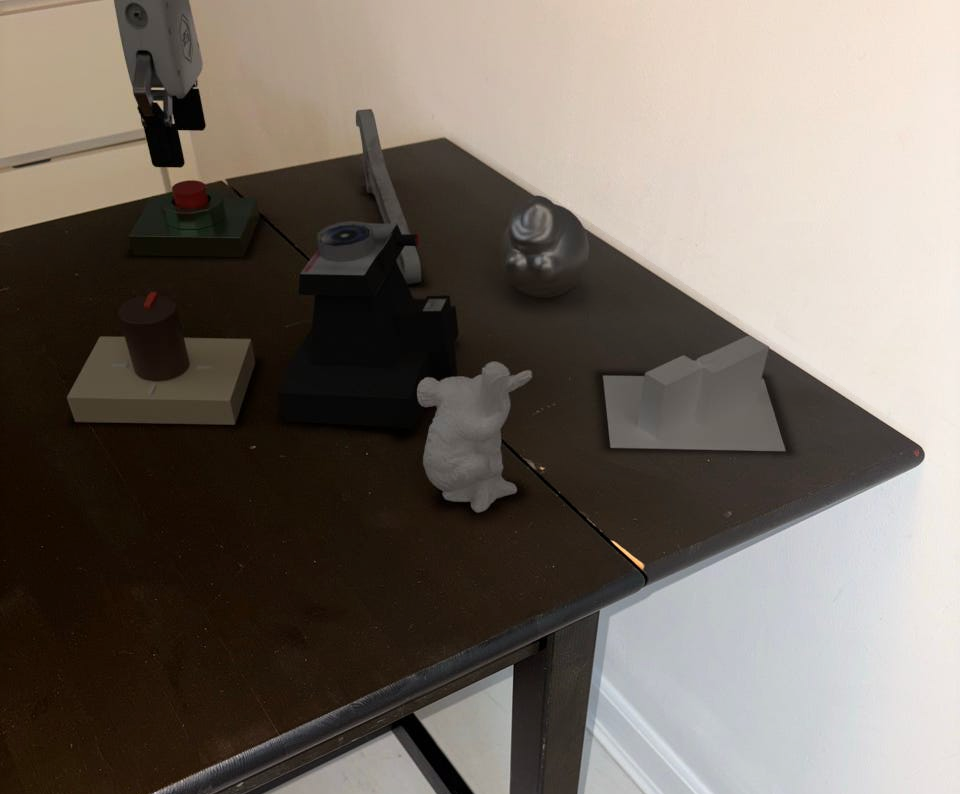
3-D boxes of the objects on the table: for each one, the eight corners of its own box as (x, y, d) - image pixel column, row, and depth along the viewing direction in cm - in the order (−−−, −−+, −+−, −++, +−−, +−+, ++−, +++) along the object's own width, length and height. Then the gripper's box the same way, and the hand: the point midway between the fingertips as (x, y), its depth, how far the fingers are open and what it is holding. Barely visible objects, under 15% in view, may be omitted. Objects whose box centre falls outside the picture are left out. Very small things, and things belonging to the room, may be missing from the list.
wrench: (405, 312, 104) (358, 167, 121) (422, 310, 105) (372, 165, 122) (403, 242, 98) (353, 99, 115) (421, 240, 98) (369, 98, 115)
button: (171, 210, 106) (168, 193, 105) (179, 196, 109) (175, 179, 107) (204, 210, 106) (201, 194, 105) (211, 196, 109) (208, 180, 107)
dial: (182, 382, 85) (167, 321, 81) (127, 380, 86) (109, 319, 81) (195, 352, 89) (181, 292, 84) (142, 351, 89) (126, 290, 85)
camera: (313, 190, 87) (477, 190, 84) (343, 339, 97) (491, 344, 94) (245, 274, 76) (430, 277, 73) (287, 431, 87) (451, 440, 83)
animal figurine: (534, 478, 81) (542, 347, 72) (514, 530, 76) (520, 397, 67) (435, 461, 82) (431, 330, 73) (411, 511, 78) (402, 378, 69)
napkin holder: (763, 377, 91) (777, 320, 87) (787, 451, 83) (804, 393, 79) (601, 375, 91) (607, 318, 87) (610, 449, 83) (618, 390, 79)
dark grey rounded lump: (478, 286, 103) (479, 189, 95) (554, 264, 106) (560, 169, 99) (525, 325, 97) (529, 225, 90) (603, 301, 101) (613, 202, 93)
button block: (133, 255, 107) (124, 219, 104) (156, 215, 114) (148, 179, 111) (243, 257, 107) (237, 220, 104) (260, 216, 113) (254, 181, 111)
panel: (75, 422, 86) (65, 395, 84) (107, 360, 92) (99, 334, 91) (235, 425, 86) (229, 398, 84) (255, 362, 92) (250, 337, 90)
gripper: (156, -22, 84) (197, 182, 97) (200, -71, 96) (232, 117, 109) (69, -23, 85) (122, 181, 97) (124, -71, 96) (165, 116, 109)
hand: (180, 147), depth 103 cm, fingers open, 9 cm apart
